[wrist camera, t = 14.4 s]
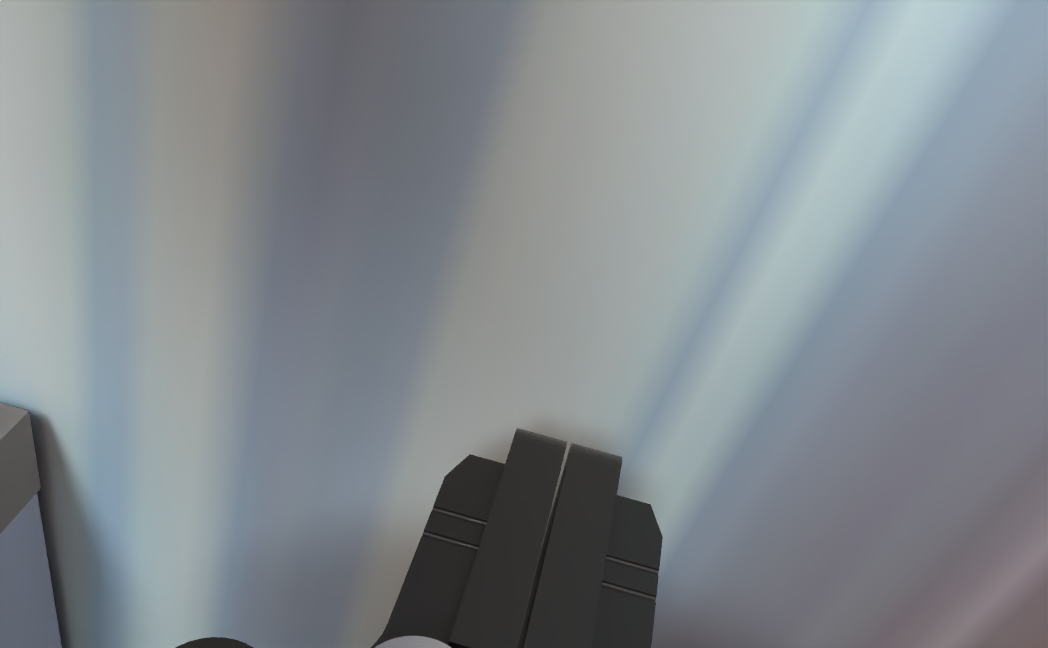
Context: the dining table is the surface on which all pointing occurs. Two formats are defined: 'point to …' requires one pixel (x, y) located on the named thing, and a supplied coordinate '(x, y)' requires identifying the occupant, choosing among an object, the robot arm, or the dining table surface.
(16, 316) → the dining table surface
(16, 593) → the leg
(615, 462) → the robot arm
